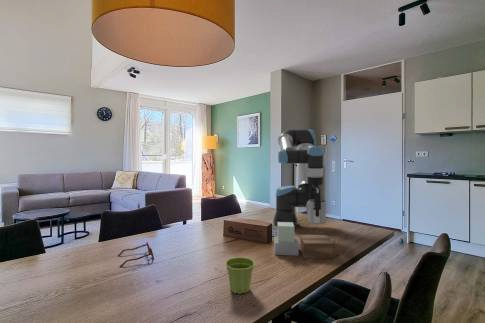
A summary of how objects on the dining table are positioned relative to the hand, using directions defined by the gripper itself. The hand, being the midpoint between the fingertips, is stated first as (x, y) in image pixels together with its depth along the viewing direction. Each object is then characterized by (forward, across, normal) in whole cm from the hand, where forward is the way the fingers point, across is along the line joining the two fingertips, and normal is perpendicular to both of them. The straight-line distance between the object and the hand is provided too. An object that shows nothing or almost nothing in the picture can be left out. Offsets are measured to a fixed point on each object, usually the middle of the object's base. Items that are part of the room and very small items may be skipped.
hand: (314, 219), depth 134 cm
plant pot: (+8, +54, -33) cm, 64 cm away
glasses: (+9, +33, -79) cm, 86 cm away
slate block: (+9, +19, -16) cm, 26 cm away
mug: (+1, -1, 0) cm, 1 cm away
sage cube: (+4, +19, -16) cm, 25 cm away
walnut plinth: (+9, +20, -3) cm, 22 cm away
